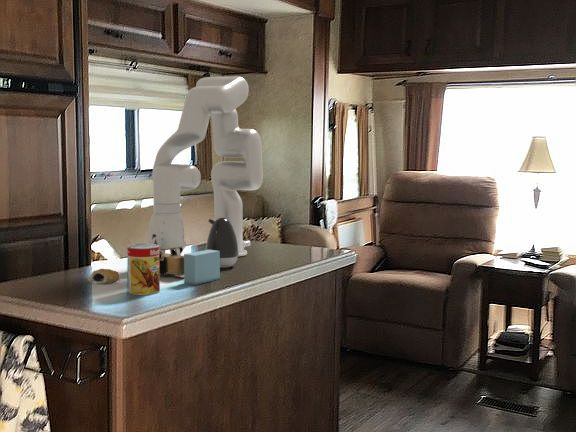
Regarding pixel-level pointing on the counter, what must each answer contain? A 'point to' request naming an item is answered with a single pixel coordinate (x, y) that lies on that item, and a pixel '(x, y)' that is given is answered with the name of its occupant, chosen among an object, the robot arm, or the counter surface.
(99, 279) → the pastry
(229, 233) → the pump dispenser
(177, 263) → the tan wooden plank
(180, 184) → the robot arm
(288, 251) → the counter surface
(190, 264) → the socket block
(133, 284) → the canned food
